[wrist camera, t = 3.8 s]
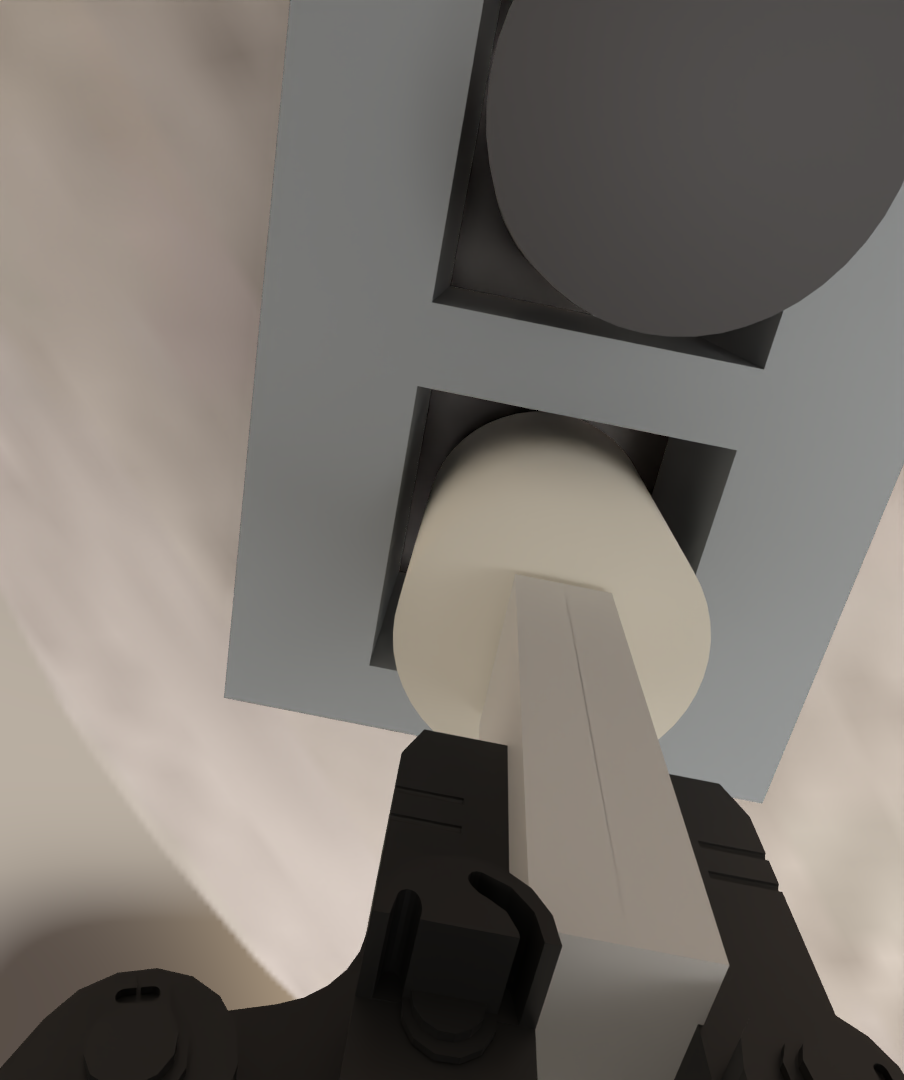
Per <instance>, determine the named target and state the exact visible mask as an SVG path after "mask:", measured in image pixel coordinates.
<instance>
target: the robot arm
mask: <svg viewBox="0 0 904 1080" xmlns="http://www.w3.org/2000/svg"><path fill="white" fill-rule="evenodd" d="M778 885H779V883H778V881H777V879H776V876H775V874H774V872H773V870H772V867H771V865H770V863H769V861H768V860H765V851H764V849H763V846H762V844H761V842H760V839H759V837H758V835H757V833H756V830H755V828H754V826H753V823H752V821H751V819H750V817H749V816H748V815H747V814H746V812H745V811H744V810H743V809H742V808H741V807H740V806H739V805H738V804H737V802H736V801H735V800H734V799H733V798H732V797H731V796H730V795H729V794H728V792H727V791H726V790H725V789H724V788H723V787H722V786H721V785H720V784H719V783H713V782H708V781H703V780H698V779H693V778H688V777H683V776H677V775H672V774H669V773H668V769H667V766H666V763H665V760H664V757H663V754H662V750H661V747H660V744H659V741H658V738H657V735H656V731H655V728H654V725H653V722H652V719H651V716H650V712H649V709H648V706H647V703H646V700H645V697H644V693H643V690H642V687H641V684H640V681H639V678H638V674H637V671H636V668H635V665H634V662H633V659H632V655H631V652H630V649H629V646H628V643H627V640H626V636H625V633H624V630H623V627H622V624H621V621H620V617H619V614H618V611H617V608H616V605H615V602H614V598H613V595H612V593H608V592H603V591H598V590H593V589H588V588H583V587H578V586H573V585H568V584H563V583H558V582H553V581H548V580H543V579H538V578H532V577H527V576H522V575H517V574H515V577H514V581H513V585H512V589H511V594H510V598H509V602H508V606H507V610H506V615H505V619H504V623H503V627H502V631H501V636H500V640H499V644H498V648H497V652H496V657H495V661H494V665H493V669H492V673H491V677H490V682H489V686H488V690H487V694H486V698H485V703H484V707H483V711H482V715H481V719H480V724H479V740H477V739H472V738H466V737H461V736H456V735H451V734H446V733H441V732H436V731H430V730H425V729H424V730H423V731H422V732H421V733H420V734H419V735H418V736H417V738H416V739H415V740H414V741H413V742H412V743H411V744H410V745H409V746H408V747H407V748H406V749H405V750H404V751H403V752H402V754H401V759H400V764H399V769H398V774H397V779H396V784H395V789H394V794H393V799H392V804H391V809H390V814H389V819H388V824H387V829H386V834H385V840H384V845H383V850H382V855H381V860H380V865H379V870H378V875H377V880H376V885H375V891H374V896H373V901H372V906H371V911H370V916H369V922H368V927H367V932H366V936H365V939H364V942H363V944H362V947H361V950H360V952H359V953H358V955H357V956H356V958H355V959H354V960H353V962H352V963H351V965H350V966H349V967H348V969H347V970H346V971H345V972H344V973H342V974H341V975H340V976H339V977H338V978H336V979H335V980H334V981H333V982H332V983H330V984H329V985H328V986H326V987H324V988H322V989H320V990H318V991H316V992H314V993H312V994H310V995H308V996H306V997H304V998H300V999H296V1000H292V1001H288V1002H285V1003H281V1004H276V1005H269V1006H261V1007H253V1008H245V1009H238V1010H231V1011H228V1010H227V1008H226V1006H225V1005H224V1003H223V1001H222V999H221V997H220V996H219V995H218V994H216V993H215V992H213V991H212V990H211V989H209V988H208V987H207V986H205V985H204V984H202V983H201V982H200V981H198V980H197V979H195V978H194V977H193V976H189V975H184V974H180V973H175V972H171V971H167V970H163V969H158V968H156V969H147V970H139V971H130V972H121V973H116V974H114V975H112V976H110V977H107V978H105V979H103V980H100V981H98V982H96V983H94V984H91V985H89V986H87V987H84V988H82V989H80V990H78V991H77V992H76V993H74V995H72V996H71V997H70V998H68V999H67V1000H66V1001H65V1002H64V1003H62V1004H61V1005H60V1006H59V1007H58V1008H57V1009H55V1010H54V1011H53V1012H52V1013H51V1014H49V1015H48V1016H47V1017H46V1018H45V1019H44V1020H43V1021H42V1022H41V1023H40V1024H39V1025H38V1026H37V1028H36V1029H35V1030H34V1031H33V1032H32V1033H31V1034H30V1035H29V1037H28V1038H27V1039H26V1040H25V1041H24V1042H23V1043H22V1044H21V1046H20V1047H19V1048H18V1049H17V1050H16V1051H15V1052H14V1053H13V1054H12V1056H11V1057H10V1058H9V1059H8V1060H7V1061H6V1062H5V1063H4V1065H3V1066H2V1067H1V1068H0V1080H904V1074H903V1072H902V1071H901V1069H900V1068H899V1066H898V1065H897V1064H896V1063H895V1062H894V1061H892V1060H891V1059H890V1058H889V1057H888V1056H887V1055H886V1054H885V1053H884V1052H883V1051H882V1050H881V1049H880V1048H879V1047H878V1046H877V1045H876V1044H875V1043H874V1042H873V1041H872V1040H871V1039H870V1038H869V1037H868V1036H867V1035H865V1034H863V1033H862V1032H860V1031H859V1030H857V1029H856V1028H854V1027H853V1026H851V1025H850V1024H848V1023H846V1022H845V1021H843V1020H842V1019H840V1018H839V1017H837V1016H836V1015H835V1013H834V1010H833V1008H832V1006H831V1004H830V1001H829V999H828V997H827V994H826V992H825V990H824V987H823V985H822V983H821V980H820V978H819V976H818V973H817V971H816V969H815V967H814V964H813V962H812V960H811V957H810V955H809V953H808V950H807V948H806V946H805V943H804V941H803V939H802V937H801V934H800V932H799V930H798V927H797V925H796V923H795V920H794V918H793V916H792V913H791V911H790V909H789V906H788V904H787V902H786V900H785V897H784V895H783V893H782V892H779V891H778Z"/></svg>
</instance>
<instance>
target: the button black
mask: <svg viewBox="0 0 904 1080" xmlns="http://www.w3.org/2000/svg"><path fill="white" fill-rule="evenodd" d="M486 137H487V146H488V155H489V164H490V169H491V174H492V179H493V184H494V189H495V193H496V197H497V202H498V206H499V210H500V213H501V215H502V218H503V221H504V223H505V226H506V228H507V230H508V232H509V234H510V236H511V238H512V239H513V241H514V243H515V244H516V246H517V247H518V249H519V250H520V252H521V253H522V254H523V256H524V257H525V258H526V259H527V260H528V261H529V262H530V263H531V264H532V266H533V267H534V268H535V269H536V270H537V271H538V272H539V273H540V274H541V275H542V276H543V277H544V278H545V279H546V280H547V281H548V282H549V283H550V284H551V285H552V286H553V287H554V288H555V289H556V290H558V291H559V292H560V293H561V294H562V295H564V296H565V297H566V298H567V299H569V300H570V301H571V302H572V303H574V304H575V305H577V306H579V307H580V308H582V309H583V310H585V311H587V312H588V313H590V314H592V315H593V316H595V317H597V318H600V319H602V320H604V321H607V322H609V323H611V324H614V325H616V326H618V327H622V328H625V329H629V330H633V331H636V332H640V333H644V334H652V335H659V336H667V337H696V336H704V335H711V334H719V333H724V332H728V331H731V330H735V329H739V328H743V327H746V326H749V325H752V324H754V323H757V322H759V321H762V320H764V319H767V318H769V317H772V316H774V315H776V314H778V313H780V312H781V311H783V310H785V309H787V308H789V307H791V306H792V305H794V304H796V303H798V302H800V301H801V300H802V299H804V298H805V297H807V296H808V295H809V294H811V293H812V292H814V291H815V290H817V289H818V288H819V287H821V286H822V285H823V284H825V283H826V282H827V281H828V280H829V279H830V278H831V277H832V276H834V275H835V274H836V273H837V272H838V271H839V270H840V269H841V268H843V267H844V266H845V265H846V264H847V263H848V262H849V260H850V259H851V258H852V257H853V256H854V255H855V254H856V253H857V252H858V250H859V249H860V248H861V247H862V246H863V245H864V244H865V243H866V242H867V240H868V239H869V237H870V236H871V235H872V233H873V232H874V230H875V229H876V228H877V226H878V225H879V223H880V222H881V221H882V219H883V218H884V217H885V215H886V213H887V211H888V210H889V208H890V206H891V204H892V202H893V201H894V199H895V197H896V195H897V194H898V192H899V190H900V188H901V186H902V184H903V181H904V0H513V2H512V4H511V6H510V8H509V11H508V13H507V16H506V19H505V22H504V24H503V27H502V30H501V33H500V35H499V38H498V41H497V46H496V50H495V54H494V58H493V62H492V67H491V71H490V78H489V86H488V95H487V103H486Z"/></svg>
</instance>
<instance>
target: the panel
mask: <svg viewBox="0 0 904 1080" xmlns="http://www.w3.org/2000/svg"><path fill="white" fill-rule="evenodd" d="M500 4H501V0H290V7H289V18H288V29H287V39H286V50H285V60H284V71H283V81H282V92H281V102H280V113H279V124H278V134H277V145H276V155H275V166H274V176H273V187H272V197H271V208H270V218H269V229H268V240H267V250H266V261H265V271H264V282H263V292H262V303H261V313H260V324H259V335H258V345H257V356H256V366H255V377H254V387H253V398H252V408H251V419H250V430H249V440H248V451H247V461H246V472H245V482H244V493H243V503H242V514H241V524H240V535H239V546H238V556H237V567H236V577H235V588H234V598H233V609H232V619H231V630H230V641H229V651H228V662H227V672H226V683H225V693H224V698H228V699H233V700H238V701H243V702H248V703H254V704H259V705H264V706H269V707H274V708H279V709H284V710H289V711H294V712H299V713H304V714H310V715H315V716H320V717H325V718H330V719H335V720H340V721H345V722H350V723H355V724H360V725H366V726H371V727H376V728H381V729H386V730H391V731H396V732H401V733H406V734H411V735H416V736H418V735H419V734H420V733H421V732H422V731H423V730H424V729H425V730H430V731H433V730H432V729H431V728H430V727H429V726H428V725H427V724H426V723H425V721H424V720H423V719H422V718H421V717H420V715H419V714H418V712H417V711H416V710H415V708H414V707H413V705H412V704H411V702H410V700H409V698H408V696H407V694H406V692H405V690H404V688H403V686H402V683H401V680H400V677H399V674H398V671H397V668H396V662H395V657H394V650H393V628H394V618H395V613H396V609H397V605H398V601H399V598H400V594H401V591H402V587H403V584H404V580H405V577H406V574H407V573H403V572H399V569H400V563H401V558H402V552H403V547H404V541H405V535H406V530H407V524H408V519H409V513H410V507H411V502H412V496H413V491H414V485H415V480H416V474H417V468H418V463H419V457H420V452H421V446H422V440H423V435H424V429H425V424H426V418H427V412H428V407H429V401H430V396H431V390H432V389H435V390H440V391H444V392H449V393H454V394H459V395H464V396H469V397H474V398H479V399H484V400H489V401H494V402H499V403H504V404H509V405H514V406H519V407H524V408H529V409H534V410H539V411H544V412H549V413H554V414H559V415H564V416H569V417H574V418H579V419H584V420H589V421H594V422H599V423H604V424H609V425H614V426H619V427H624V428H629V429H634V430H639V431H644V432H649V433H654V434H659V435H663V436H668V437H669V439H668V442H667V445H666V449H665V452H664V455H663V459H662V462H661V466H660V469H659V472H658V476H657V479H656V482H655V486H654V489H653V492H652V496H651V497H652V499H653V500H654V502H655V504H656V506H657V507H658V509H659V511H660V513H661V515H662V516H663V518H664V520H665V522H666V523H667V525H668V527H669V529H670V530H671V532H672V534H673V536H674V538H675V539H676V541H677V543H678V545H679V546H680V548H681V550H682V552H683V553H684V555H685V557H686V559H687V561H688V562H689V564H690V566H691V568H692V569H693V571H694V573H695V575H696V577H697V579H698V581H699V583H700V585H701V587H702V590H703V593H704V596H705V599H706V602H707V606H708V611H709V617H710V624H711V645H710V653H709V660H708V664H707V667H706V671H705V674H704V678H703V680H702V682H701V685H700V687H699V689H698V691H697V694H696V695H695V697H694V699H693V700H692V702H691V704H690V705H689V707H688V708H687V710H686V711H685V713H684V714H683V715H682V716H681V717H680V719H679V720H678V721H677V722H676V724H675V725H674V726H673V727H672V728H671V729H669V730H668V731H667V732H666V733H665V734H664V735H663V736H662V737H661V738H660V739H658V741H659V744H660V747H661V750H662V754H663V757H664V760H665V763H666V766H667V769H668V773H669V774H672V775H677V776H683V777H688V778H693V779H698V780H703V781H708V782H713V783H719V784H720V785H721V786H722V787H723V788H724V789H725V790H726V791H727V792H728V794H729V795H730V796H731V797H732V798H737V799H742V800H747V801H752V802H757V803H763V800H764V798H765V796H766V793H767V791H768V788H769V786H770V784H771V781H772V779H773V776H774V774H775V772H776V769H777V767H778V764H779V762H780V760H781V757H782V755H783V752H784V750H785V748H786V745H787V743H788V740H789V738H790V735H791V733H792V731H793V728H794V726H795V723H796V721H797V719H798V716H799V714H800V711H801V709H802V707H803V704H804V702H805V699H806V697H807V695H808V692H809V690H810V687H811V685H812V683H813V680H814V678H815V675H816V673H817V671H818V668H819V666H820V663H821V661H822V659H823V656H824V654H825V651H826V649H827V647H828V644H829V642H830V639H831V637H832V635H833V632H834V630H835V627H836V625H837V623H838V620H839V618H840V615H841V613H842V611H843V608H844V606H845V603H846V601H847V599H848V596H849V594H850V591H851V589H852V587H853V584H854V582H855V579H856V577H857V575H858V572H859V570H860V567H861V565H862V563H863V560H864V558H865V555H866V553H867V551H868V548H869V546H870V543H871V541H872V539H873V536H874V534H875V531H876V529H877V527H878V524H879V522H880V519H881V517H882V515H883V512H884V510H885V507H886V505H887V503H888V500H889V498H890V495H891V493H892V491H893V488H894V486H895V483H896V481H897V478H898V476H899V474H900V471H901V469H902V466H903V464H904V181H903V184H902V186H901V188H900V190H899V192H898V194H897V195H896V197H895V199H894V201H893V202H892V204H891V206H890V208H889V210H888V211H887V213H886V215H885V217H884V218H883V219H882V221H881V222H880V223H879V225H878V226H877V228H876V229H875V230H874V232H873V233H872V235H871V236H870V237H869V239H868V240H867V242H866V243H865V244H864V245H863V246H862V247H861V248H860V249H859V250H858V252H857V253H856V254H855V255H854V256H853V257H852V258H851V259H850V260H849V262H848V263H847V264H846V265H845V266H844V267H843V268H841V269H840V270H839V271H838V272H837V273H836V274H835V275H834V276H832V277H831V278H830V279H829V280H828V281H827V282H826V283H825V284H823V285H822V286H821V287H819V288H818V289H817V290H815V291H814V292H812V293H811V294H809V295H808V296H807V297H805V298H804V299H802V300H801V301H800V302H798V303H796V304H794V305H792V306H791V307H789V308H787V309H785V310H783V311H781V312H780V313H778V314H776V315H774V316H772V317H769V318H767V319H764V320H762V321H759V322H757V323H754V324H752V325H749V326H746V327H743V328H739V329H735V330H731V331H728V332H724V333H719V334H711V335H704V336H696V337H667V336H659V335H652V334H644V333H640V332H636V331H633V330H629V329H625V328H622V327H618V326H616V325H614V324H611V323H609V322H607V321H604V320H602V319H600V318H597V317H595V316H593V315H591V314H586V313H581V312H576V311H571V310H566V309H561V308H557V307H552V306H547V305H542V304H537V303H532V302H527V301H522V300H517V299H512V298H507V297H502V296H497V295H492V294H487V293H482V292H477V291H472V290H468V289H463V288H458V287H453V286H450V284H451V278H452V273H453V267H454V262H455V256H456V250H457V245H458V239H459V234H460V228H461V222H462V217H463V211H464V206H465V200H466V195H467V189H468V183H469V178H470V172H471V167H472V161H473V155H474V150H475V144H476V139H477V133H478V127H479V122H480V116H481V111H482V105H483V100H484V94H485V88H486V83H487V77H488V72H489V66H490V60H491V55H492V49H493V44H494V38H495V32H496V27H497V21H498V16H499V10H500Z"/></svg>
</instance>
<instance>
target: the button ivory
mask: <svg viewBox="0 0 904 1080" xmlns="http://www.w3.org/2000/svg"><path fill="white" fill-rule="evenodd" d="M515 574H517V575H522V576H527V577H532V578H538V579H543V580H548V581H553V582H558V583H563V584H568V585H573V586H578V587H583V588H588V589H593V590H598V591H603V592H608V593H612V595H613V598H614V602H615V605H616V608H617V611H618V614H619V617H620V621H621V624H622V627H623V630H624V633H625V636H626V640H627V643H628V646H629V649H630V652H631V655H632V659H633V662H634V665H635V668H636V671H637V674H638V678H639V681H640V684H641V687H642V690H643V693H644V697H645V700H646V703H647V706H648V709H649V712H650V716H651V719H652V722H653V725H654V728H655V731H656V735H657V738H658V739H660V738H661V737H662V736H663V735H664V734H665V733H666V732H667V731H668V730H669V729H671V728H672V727H673V726H674V725H675V724H676V722H677V721H678V720H679V719H680V717H681V716H682V715H683V714H684V713H685V711H686V710H687V708H688V707H689V705H690V704H691V702H692V700H693V699H694V697H695V695H696V694H697V691H698V689H699V687H700V685H701V682H702V680H703V678H704V674H705V671H706V667H707V664H708V660H709V653H710V645H711V624H710V617H709V611H708V606H707V602H706V599H705V596H704V593H703V590H702V587H701V585H700V583H699V581H698V579H697V577H696V575H695V573H694V571H693V569H692V568H691V566H690V564H689V562H688V561H687V559H686V557H685V555H684V553H683V552H682V550H681V548H680V546H679V545H678V543H677V541H676V539H675V538H674V536H673V534H672V532H671V530H670V529H669V527H668V525H667V523H666V522H665V520H664V518H663V516H662V515H661V513H660V511H659V509H658V507H657V506H656V504H655V502H654V500H653V499H652V497H651V495H650V493H649V492H648V490H647V488H646V486H645V484H644V483H643V481H642V479H641V477H640V476H639V474H638V472H637V470H636V469H635V467H634V465H633V463H632V462H631V460H630V459H629V457H628V456H627V455H626V453H625V452H624V450H623V449H622V448H621V447H620V446H619V445H618V444H617V443H616V442H615V441H614V440H613V439H612V438H610V437H609V436H608V435H607V434H605V433H604V432H603V431H601V430H600V429H598V428H596V427H594V426H593V425H591V424H589V423H587V422H584V421H582V420H580V419H577V418H574V417H569V416H564V415H559V414H554V413H549V412H527V413H519V414H514V415H510V416H506V417H502V418H500V419H497V420H495V421H492V422H490V423H487V424H486V425H484V426H482V427H480V428H479V429H477V430H475V431H474V432H472V433H471V434H470V435H468V436H467V437H466V438H464V439H463V440H462V441H461V442H460V443H459V444H458V445H457V446H456V447H455V448H454V449H453V450H452V451H451V453H450V454H449V455H448V457H447V458H446V459H445V460H444V462H443V464H442V466H441V467H440V469H439V471H438V473H437V475H436V477H435V480H434V482H433V485H432V488H431V491H430V495H429V498H428V502H427V505H426V508H425V512H424V515H423V519H422V522H421V526H420V529H419V532H418V536H417V539H416V543H415V546H414V550H413V553H412V556H411V560H410V563H409V567H408V570H407V574H406V577H405V580H404V584H403V587H402V591H401V594H400V598H399V601H398V605H397V609H396V613H395V618H394V628H393V650H394V657H395V662H396V668H397V671H398V674H399V677H400V680H401V683H402V686H403V688H404V690H405V692H406V694H407V696H408V698H409V700H410V702H411V704H412V705H413V707H414V708H415V710H416V711H417V712H418V714H419V715H420V717H421V718H422V719H423V720H424V721H425V723H426V724H427V725H428V726H429V727H430V728H431V729H432V730H433V731H436V732H441V733H446V734H451V735H456V736H461V737H466V738H472V739H477V740H479V724H480V719H481V715H482V711H483V707H484V703H485V698H486V694H487V690H488V686H489V682H490V677H491V673H492V669H493V665H494V661H495V657H496V652H497V648H498V644H499V640H500V636H501V631H502V627H503V623H504V619H505V615H506V610H507V606H508V602H509V598H510V594H511V589H512V585H513V581H514V577H515Z"/></svg>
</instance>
